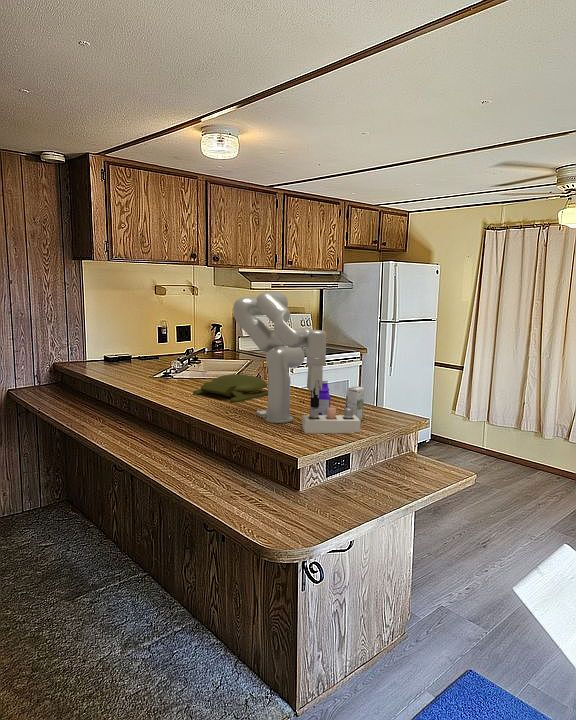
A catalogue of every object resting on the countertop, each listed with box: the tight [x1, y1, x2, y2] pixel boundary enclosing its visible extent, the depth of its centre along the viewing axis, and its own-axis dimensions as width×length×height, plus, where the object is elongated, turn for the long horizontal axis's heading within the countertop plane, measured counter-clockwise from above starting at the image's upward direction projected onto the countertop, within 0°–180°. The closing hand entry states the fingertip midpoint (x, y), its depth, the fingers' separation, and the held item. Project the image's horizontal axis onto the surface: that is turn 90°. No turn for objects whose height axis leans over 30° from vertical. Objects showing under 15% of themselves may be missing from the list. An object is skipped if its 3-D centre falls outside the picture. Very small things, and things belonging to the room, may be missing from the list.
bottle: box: [317, 378, 331, 415], centre depth 233 cm, size 7×6×17 cm
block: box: [301, 414, 362, 434], centre depth 216 cm, size 22×9×5 cm, turn 95°
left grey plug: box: [309, 406, 319, 419], centre depth 215 cm, size 4×4×5 cm
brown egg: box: [327, 406, 337, 419], centre depth 215 cm, size 4×4×5 cm
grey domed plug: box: [343, 406, 353, 419], centre depth 216 cm, size 4×4×5 cm
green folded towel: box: [192, 373, 268, 403], centre depth 281 cm, size 35×31×10 cm
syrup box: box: [344, 385, 365, 421], centre depth 232 cm, size 6×6×14 cm
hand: (314, 406), depth 214 cm, fingers closed
